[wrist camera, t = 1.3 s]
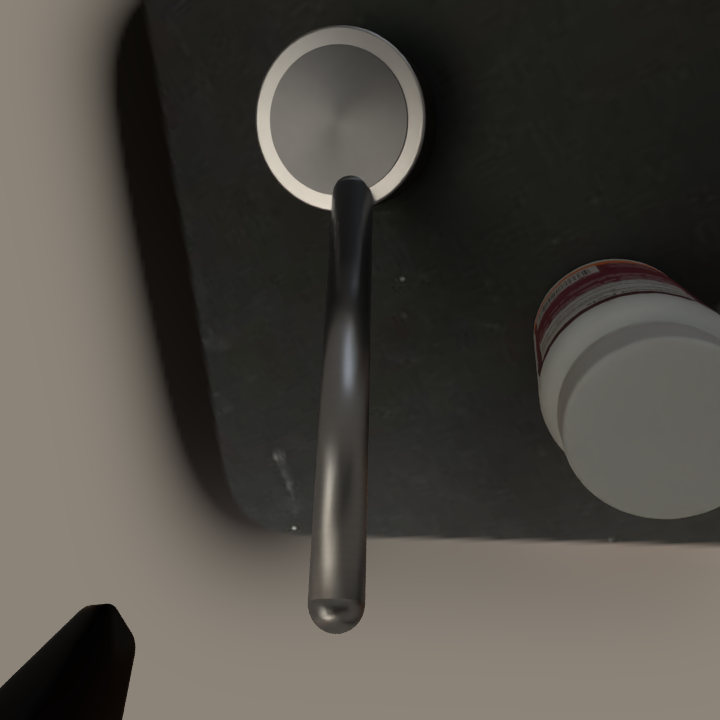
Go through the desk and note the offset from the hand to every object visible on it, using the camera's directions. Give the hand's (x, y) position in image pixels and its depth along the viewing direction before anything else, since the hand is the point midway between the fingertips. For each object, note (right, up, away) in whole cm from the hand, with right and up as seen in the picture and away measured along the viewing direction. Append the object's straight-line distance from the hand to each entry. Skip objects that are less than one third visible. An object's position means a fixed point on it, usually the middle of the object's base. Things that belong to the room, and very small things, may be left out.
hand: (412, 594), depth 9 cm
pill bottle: (+7, +4, +12) cm, 15 cm away
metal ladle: (0, +7, +13) cm, 14 cm away
